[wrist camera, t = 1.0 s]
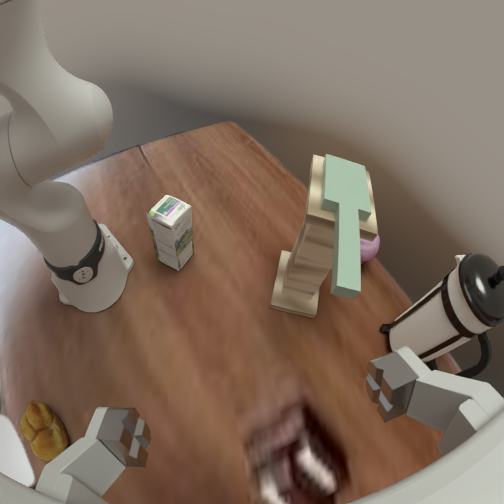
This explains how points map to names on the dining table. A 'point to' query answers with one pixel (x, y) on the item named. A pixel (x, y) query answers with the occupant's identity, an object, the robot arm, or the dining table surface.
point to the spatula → (345, 220)
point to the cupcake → (368, 249)
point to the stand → (312, 251)
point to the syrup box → (172, 231)
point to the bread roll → (44, 431)
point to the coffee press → (454, 313)
